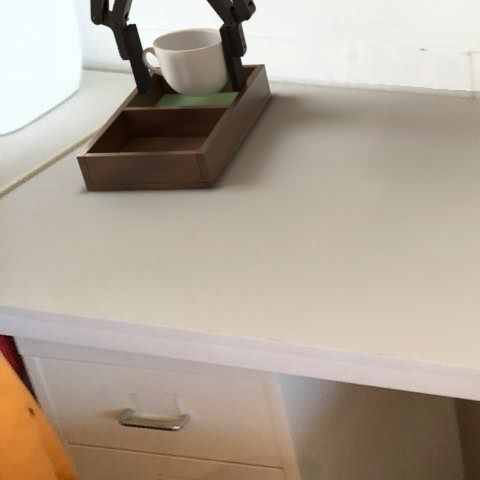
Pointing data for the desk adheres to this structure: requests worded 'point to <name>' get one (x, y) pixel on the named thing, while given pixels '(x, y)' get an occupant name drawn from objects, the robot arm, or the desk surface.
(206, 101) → the wooden compartment tray
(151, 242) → the desk surface
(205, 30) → the teacup
